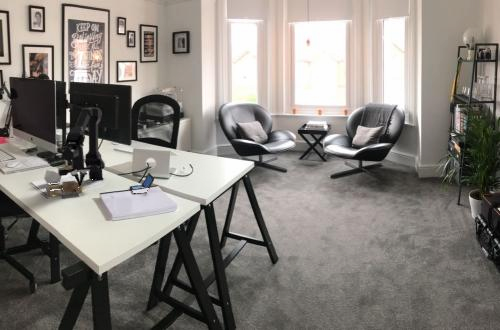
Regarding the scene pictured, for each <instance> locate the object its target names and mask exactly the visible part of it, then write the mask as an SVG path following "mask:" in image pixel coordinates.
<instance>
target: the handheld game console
mask: <svg viewBox="0 0 500 330" xmlns="http://www.w3.org/2000/svg"><path fill="white" fill-rule="evenodd" d="M154 181H155V178H154V177H153V175H152V174H151V173H149V172H148V173H147V175H146V177H145V178H144V180H143V183H141V184H139V185H138V184H137V185H130V186H129V189H130V190H131V189H137V188H142V187H148V188H149V189H150V188H151V186H152V185H153V183H154Z"/></svg>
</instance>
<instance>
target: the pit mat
mask: <svg viewBox="0 0 500 330" xmlns="http://www.w3.org/2000/svg"><path fill="white" fill-rule="evenodd" d="M77 197H78V198H79V197H80V193H76V192H73V193H66V194H65V193H64V194H62V195H60V198H61V199H70V198H71V199H72V198H77Z"/></svg>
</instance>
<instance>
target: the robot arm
mask: <svg viewBox="0 0 500 330" xmlns="http://www.w3.org/2000/svg"><path fill="white" fill-rule="evenodd" d="M102 116H103V111H102V110H101V109H100V108H99V107H87V108H85V107H84V108H81V109H80V114H79V116H78V119H77V121H76V123H75V124H74V125H75V126H73V128H71V129H70V130H69V131H68V133H67V134H66V139H65V142H64V147H65V149H64V150H63V151H62V153H61V158H63V160H65V161H66V163H67V164H66V165H67V167H71V168H67V167H59V168H57V170H58V174H59V176H67V175H68V174H70V175H71V176H72V177H74V178H75V181H76V182H77V183H78V185H79V187H82V185H83V181H84V179H85V176H87V175H88V178H89V180H90V179H91V180H92V179H93V180H94V181H100V180H101V181H102V180H104V178H103V176H104V175H103V169H105V165H106V163H105V162H104V160H103V158H102V154H101V153H100V151H99V123H100V122H101V120H102ZM87 126H88V151H87V153H85V155H84V145H85V139H86V134H85V130H86V128H87ZM84 156H85V157H84ZM87 172H88V173H87ZM78 173H79V174H78ZM91 180H90V181H91Z"/></svg>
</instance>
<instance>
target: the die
mask: <svg viewBox="0 0 500 330" xmlns="http://www.w3.org/2000/svg"><path fill="white" fill-rule="evenodd" d="M61 179H62V176H59V174H58V168H54V169H52V168H51V169H47V170H45V175H44V179H43V180H44V181H45V182H46V183H47V184H48V183H50V184H51V183H58V182H61Z"/></svg>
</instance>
